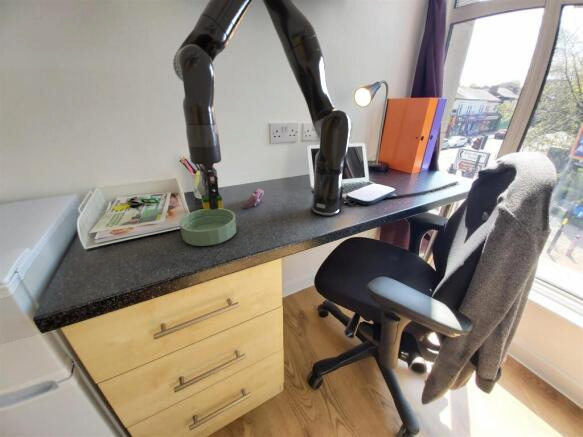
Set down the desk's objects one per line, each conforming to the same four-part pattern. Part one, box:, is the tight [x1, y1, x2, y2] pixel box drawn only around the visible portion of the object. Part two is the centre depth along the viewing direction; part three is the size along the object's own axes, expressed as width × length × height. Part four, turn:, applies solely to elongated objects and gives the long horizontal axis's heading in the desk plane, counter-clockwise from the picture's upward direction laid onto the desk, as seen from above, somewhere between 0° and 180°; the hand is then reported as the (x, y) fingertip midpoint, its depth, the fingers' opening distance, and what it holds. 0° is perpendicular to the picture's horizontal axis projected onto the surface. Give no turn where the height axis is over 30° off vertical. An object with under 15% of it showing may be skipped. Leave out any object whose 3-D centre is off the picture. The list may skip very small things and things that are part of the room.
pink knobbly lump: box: [242, 188, 265, 209], centre depth 89 cm, size 10×5×7 cm, turn 168°
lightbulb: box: [196, 179, 215, 196], centre depth 84 cm, size 6×6×11 cm
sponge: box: [200, 193, 224, 210], centre depth 66 cm, size 5×4×3 cm
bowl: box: [178, 207, 238, 247], centre depth 69 cm, size 15×15×5 cm
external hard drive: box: [345, 183, 396, 206], centre depth 98 cm, size 24×12×2 cm, turn 132°
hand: (212, 205), depth 67 cm, fingers closed on sponge, 4 cm apart
